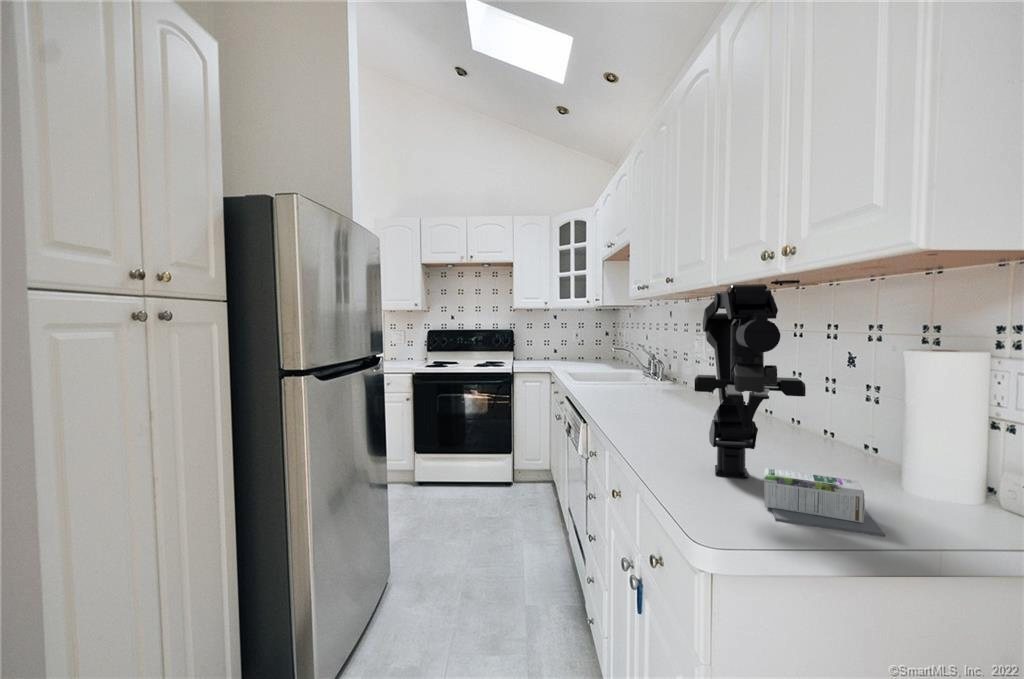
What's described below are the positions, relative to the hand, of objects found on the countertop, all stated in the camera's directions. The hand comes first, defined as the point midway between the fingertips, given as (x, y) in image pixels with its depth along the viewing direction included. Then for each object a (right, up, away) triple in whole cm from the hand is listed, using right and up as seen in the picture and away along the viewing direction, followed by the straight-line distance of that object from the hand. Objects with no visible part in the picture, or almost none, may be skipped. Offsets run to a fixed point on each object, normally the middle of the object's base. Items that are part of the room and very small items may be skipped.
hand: (746, 429), depth 88 cm
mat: (+9, -13, -7) cm, 17 cm away
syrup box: (+1, -10, -4) cm, 11 cm away
